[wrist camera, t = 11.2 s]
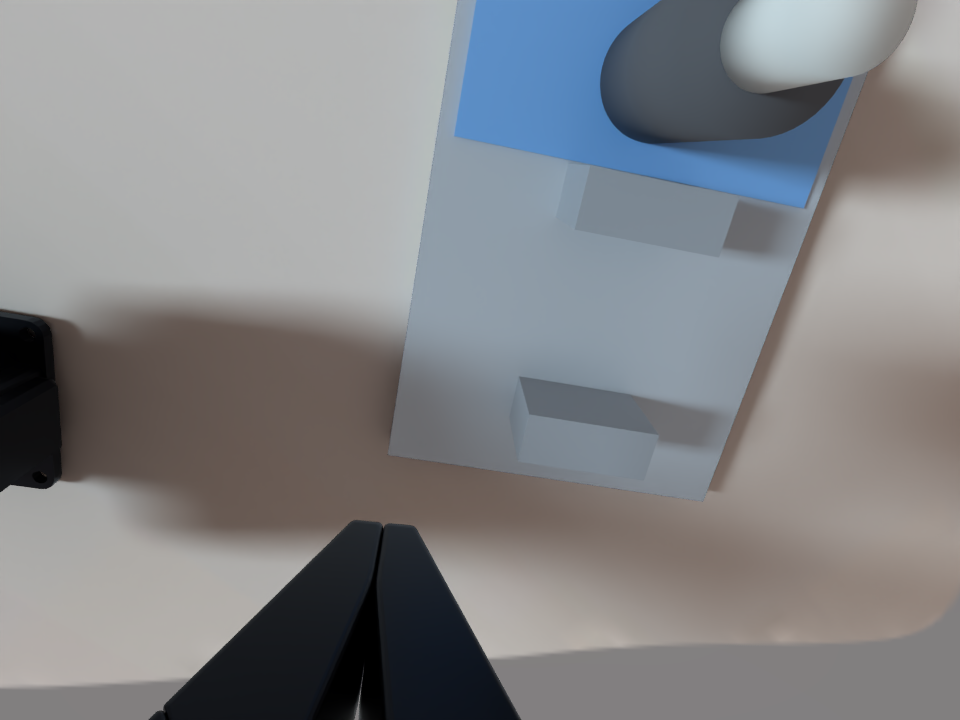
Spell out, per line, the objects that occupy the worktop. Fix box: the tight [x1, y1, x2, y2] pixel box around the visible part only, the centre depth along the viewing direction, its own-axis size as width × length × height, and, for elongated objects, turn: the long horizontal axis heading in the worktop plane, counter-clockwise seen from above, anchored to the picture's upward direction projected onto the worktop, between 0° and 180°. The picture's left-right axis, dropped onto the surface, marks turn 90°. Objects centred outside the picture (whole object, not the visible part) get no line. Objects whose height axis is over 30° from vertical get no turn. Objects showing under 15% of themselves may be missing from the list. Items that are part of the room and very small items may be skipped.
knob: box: [600, 0, 917, 144], centre depth 12 cm, size 3×3×8 cm
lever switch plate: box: [388, 0, 868, 502], centre depth 16 cm, size 12×20×4 cm, turn 169°
